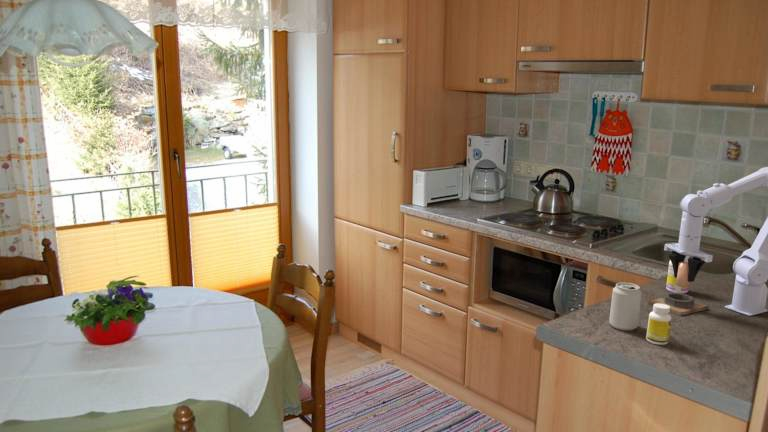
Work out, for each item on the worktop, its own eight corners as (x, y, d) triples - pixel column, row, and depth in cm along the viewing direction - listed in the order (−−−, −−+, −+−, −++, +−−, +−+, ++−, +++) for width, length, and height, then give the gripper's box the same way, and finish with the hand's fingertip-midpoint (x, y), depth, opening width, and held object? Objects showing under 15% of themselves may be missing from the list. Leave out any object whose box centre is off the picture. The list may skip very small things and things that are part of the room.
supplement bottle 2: (688, 289, 211) (693, 251, 208) (688, 295, 205) (693, 256, 202) (665, 286, 214) (670, 249, 211) (665, 292, 208) (670, 253, 205)
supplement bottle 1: (670, 346, 165) (675, 310, 163) (648, 344, 166) (652, 308, 164) (665, 338, 170) (670, 303, 168) (644, 336, 171) (648, 301, 169)
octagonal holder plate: (676, 297, 203) (677, 288, 202) (708, 309, 193) (709, 299, 193) (648, 303, 196) (649, 294, 196) (680, 315, 187) (681, 305, 186)
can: (634, 334, 172) (639, 291, 170) (605, 327, 176) (610, 286, 173) (639, 325, 178) (645, 284, 176) (612, 319, 182) (616, 279, 180)
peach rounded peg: (681, 282, 195) (684, 260, 194) (693, 286, 192) (696, 264, 190) (673, 284, 193) (676, 262, 192) (684, 288, 190) (688, 265, 188)
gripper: (660, 230, 193) (654, 274, 196) (704, 242, 181) (697, 288, 184) (675, 228, 197) (669, 271, 200) (719, 239, 184) (712, 284, 187)
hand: (684, 279), depth 192 cm, fingers closed on peach rounded peg, 4 cm apart
